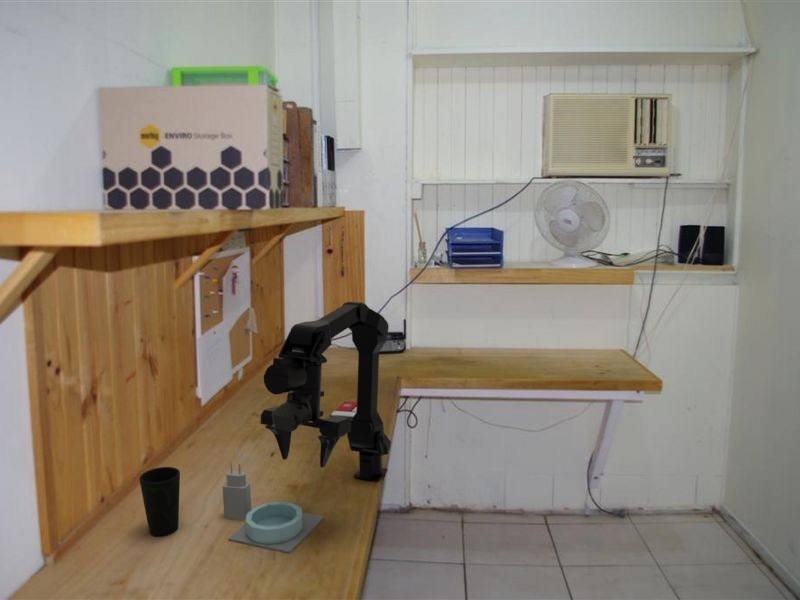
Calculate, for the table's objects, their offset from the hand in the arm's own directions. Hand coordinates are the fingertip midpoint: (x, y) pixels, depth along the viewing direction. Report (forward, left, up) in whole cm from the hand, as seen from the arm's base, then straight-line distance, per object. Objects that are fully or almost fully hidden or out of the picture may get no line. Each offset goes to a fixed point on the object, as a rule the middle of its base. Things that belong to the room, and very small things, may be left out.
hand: (303, 463), depth 125 cm
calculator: (-62, -18, -15) cm, 66 cm away
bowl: (+4, -5, -14) cm, 15 cm away
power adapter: (+1, -16, -14) cm, 22 cm away
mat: (+3, -5, -14) cm, 15 cm away
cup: (+11, -27, -14) cm, 32 cm away
